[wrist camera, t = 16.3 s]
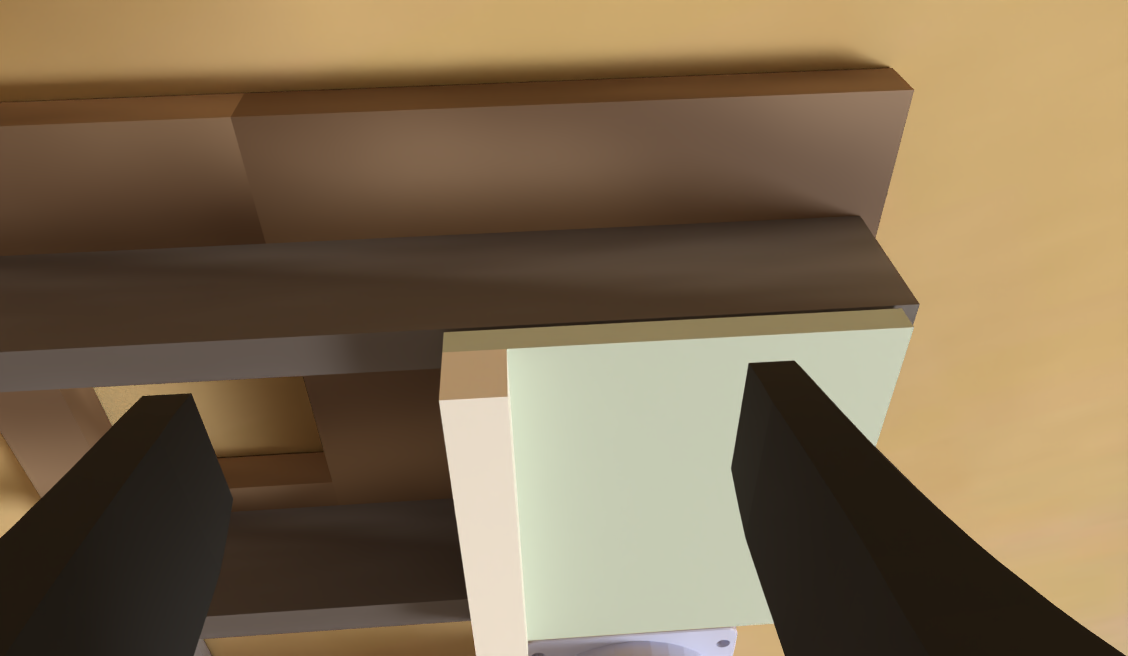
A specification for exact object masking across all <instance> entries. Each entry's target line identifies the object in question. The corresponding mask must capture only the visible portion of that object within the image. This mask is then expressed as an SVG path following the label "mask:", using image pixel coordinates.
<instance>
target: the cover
mask: <svg viewBox="0 0 1128 656" xmlns="http://www.w3.org/2000/svg"><path fill="white" fill-rule="evenodd" d="M913 329H914V326H913V325H912V323H911V322H910V320H909V319H908V317H907V316H906V314H905V312H904V311H903V309H902V308H899V309H880V310H861V311H842V312H823V313H803V314H784V315H765V316H746V317H727V318H708V319H689V320H669V321H650V322H631V323H612V324H593V325H574V326H555V327H535V328H516V329H497V330H478V331H459V332H444V336H443V350H442V364H441V378H440V392H439V405H440V411H441V418H442V425H443V432H444V439H445V446H446V453H447V459H448V466H449V473H450V480H451V487H452V494H453V501H454V507H455V514H456V521H457V528H458V535H459V542H460V548H461V555H462V562H463V569H464V576H465V583H466V590H467V596H468V603H469V610H470V617H471V624H472V631H473V638H474V644H475V651H476V656H528V641H530V640H545V639H559V638H573V637H588V636H602V635H617V634H631V633H645V632H660V631H674V630H688V629H703V628H717V627H732V626H746V625H760V624H774V622H773V619H772V616H771V613H770V610H769V607H768V605H767V602H766V599H765V596H764V593H763V590H762V587H761V584H760V581H759V578H758V575H757V572H756V569H755V566H754V563H753V560H752V557H751V554H750V551H749V548H748V545H747V542H746V539H745V534H744V530H743V525H742V521H741V516H740V512H739V507H738V502H737V497H736V492H735V487H734V482H733V477H732V472H731V465H732V459H733V453H734V447H735V441H736V435H737V429H738V423H739V417H740V411H741V405H742V399H743V393H744V387H745V381H746V375H747V369H748V363H755V362H774V361H792V360H794V361H795V362H796V363H797V364H798V365H800V366H801V368H802V369H803V370H804V371H805V372H806V373H807V374H808V375H809V376H810V377H811V378H812V379H813V380H814V382H815V383H816V384H817V385H818V386H819V387H820V388H821V389H822V390H823V391H824V392H825V394H826V395H827V396H828V397H829V398H830V399H831V400H832V401H833V402H834V403H835V404H836V406H837V407H838V408H839V409H840V410H841V411H842V412H843V413H844V414H845V415H846V416H847V417H848V418H849V420H850V421H851V422H852V423H853V424H854V425H855V426H856V427H857V428H858V429H859V430H860V431H861V432H862V433H863V434H864V435H865V436H866V438H867V439H868V440H869V441H870V442H871V443H872V444H873V445H874V446H875V447H876V444H877V441H878V438H879V435H880V432H881V429H882V425H883V422H884V419H885V416H886V413H887V410H888V407H889V404H890V400H891V397H892V394H893V391H894V388H895V385H896V382H897V379H898V376H899V372H900V369H901V366H902V363H903V360H904V357H905V354H906V351H907V347H908V344H909V341H910V338H911V335H912V332H913Z"/></svg>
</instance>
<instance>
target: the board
mask: <svg viewBox="0 0 1128 656" xmlns="http://www.w3.org/2000/svg"><path fill="white" fill-rule="evenodd" d="M913 92H914V89H913V88H912V87H911V86H910V85H909V84H908V83H907V82H906V81H905V80H904V79H903V78H902V77H901V76H900V75H899V74H898V73H897V72H896V71H895V70H894V69H893V68H881V69H855V70H829V71H803V72H777V73H751V74H725V75H700V76H674V77H648V78H622V79H596V80H570V81H544V82H518V83H493V84H467V85H441V86H415V87H389V88H363V89H337V90H311V91H286V92H260V93H234V94H208V95H182V96H156V97H130V98H105V99H79V100H53V101H27V102H1V103H0V432H1V434H2V435H3V437H4V439H5V440H6V442H7V444H8V445H9V447H10V448H11V450H12V452H13V453H14V455H15V456H16V458H17V460H18V461H19V463H20V465H21V466H22V468H23V469H24V471H25V473H26V474H27V476H28V477H29V479H30V481H31V482H32V484H33V486H34V487H35V489H36V490H37V492H38V494H39V495H40V497H41V498H42V497H43V496H44V495H45V494H46V493H47V492H48V491H49V490H50V489H51V488H52V487H53V486H54V485H55V484H56V483H57V482H58V481H59V480H60V479H61V478H62V477H63V476H64V475H65V474H66V473H67V472H68V471H69V470H70V469H71V468H72V467H73V466H74V465H75V464H76V463H77V462H78V461H79V460H80V459H81V458H82V457H83V456H84V455H85V454H86V453H87V452H88V451H89V450H90V449H91V448H92V447H93V446H94V445H95V443H96V442H97V441H98V440H99V439H100V438H101V437H102V436H103V435H104V434H105V433H106V432H107V431H108V430H109V429H110V428H111V427H112V425H111V423H110V421H109V419H108V417H107V415H106V413H105V411H104V409H103V407H102V405H101V403H100V401H99V399H98V397H97V395H96V393H95V391H94V389H93V387H107V386H125V385H144V384H162V383H180V382H199V381H217V380H236V379H254V378H273V377H291V376H303V378H304V382H305V385H306V389H307V393H308V396H309V400H310V403H311V407H312V411H313V414H314V418H315V421H316V425H317V428H318V432H319V436H320V439H321V443H322V446H323V450H324V452H315V453H298V454H281V455H264V456H247V457H230V458H217V459H218V462H219V464H220V467H221V469H222V472H223V474H224V477H225V479H226V482H227V484H228V487H229V489H230V492H231V494H232V497H233V503H232V510H231V516H230V522H229V528H228V534H227V540H226V545H225V550H224V555H223V560H222V565H221V570H220V574H219V577H218V581H217V584H216V587H215V591H214V594H213V597H212V600H211V603H210V607H209V610H208V613H207V616H206V619H205V622H204V626H203V629H202V632H201V635H200V638H199V639H210V638H224V637H239V636H254V635H268V634H283V633H298V632H312V631H327V630H342V629H356V628H371V627H385V626H400V625H415V624H429V623H444V622H459V621H471V617H470V610H469V603H468V596H467V590H466V583H465V576H464V569H463V562H462V555H461V548H460V542H459V535H458V528H457V521H456V514H455V507H454V501H453V494H452V487H451V480H450V473H449V466H448V459H447V453H446V446H445V439H444V432H443V425H442V418H441V411H440V405H439V392H440V378H441V364H442V350H443V336H444V332H459V331H478V330H497V329H516V328H535V327H555V326H574V325H593V324H612V323H631V322H650V321H669V320H689V319H708V318H727V317H746V316H765V315H784V314H803V313H823V312H842V311H861V310H880V309H899V308H902V309H903V311H904V312H905V314H906V316H907V317H908V319H909V320H910V322H911V323H912V325H913V323H914V320H915V317H916V314H917V311H918V308H919V305H920V304H919V303H918V301H917V300H916V298H915V297H914V295H913V294H912V292H911V291H910V289H909V288H908V286H907V285H906V283H905V282H904V280H903V279H902V277H901V276H900V274H899V273H898V271H897V270H896V268H895V267H894V265H893V264H892V262H891V261H890V259H889V258H888V256H887V255H886V253H885V252H884V250H883V249H882V248H881V246H880V245H879V243H878V242H877V240H876V239H875V238H876V234H877V230H878V226H879V222H880V218H881V215H882V211H883V207H884V203H885V199H886V196H887V192H888V188H889V184H890V180H891V176H892V173H893V169H894V165H895V161H896V157H897V153H898V150H899V146H900V142H901V138H902V134H903V130H904V127H905V123H906V119H907V115H908V111H909V107H910V104H911V100H912V96H913Z"/></svg>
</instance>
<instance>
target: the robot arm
mask: <svg viewBox="0 0 1128 656" xmlns="http://www.w3.org/2000/svg"><path fill="white" fill-rule="evenodd" d="M731 472H732V477H733V482H734V487H735V492H736V497H737V502H738V507H739V512H740V516H741V521H742V525H743V530H744V534H745V539H746V542H747V545H748V548H749V551H750V554H751V557H752V560H753V563H754V566H755V569H756V572H757V575H758V578H759V581H760V584H761V587H762V590H763V593H764V596H765V599H766V602H767V605H768V607H769V610H770V613H771V616H772V619H773V622H774V625H775V628H776V631H777V634H778V637H779V640H780V643H781V645H782V648H783V651H784V654H785V656H1126V655H1124V654H1123V653H1121V652H1120V651H1118V650H1117V649H1115V648H1114V647H1112V646H1111V645H1110V644H1108V643H1107V642H1105V641H1104V640H1102V639H1101V638H1099V637H1098V636H1097V635H1095V634H1094V633H1092V632H1091V631H1089V630H1088V629H1086V628H1085V627H1084V626H1082V625H1081V624H1080V623H1078V622H1077V621H1075V620H1074V619H1073V618H1071V617H1070V616H1069V615H1067V614H1066V613H1064V612H1063V611H1062V610H1060V609H1059V608H1058V607H1056V606H1055V605H1054V604H1052V603H1051V602H1050V601H1048V600H1047V599H1046V598H1045V597H1043V596H1042V595H1041V594H1040V593H1038V592H1037V591H1036V590H1034V589H1033V588H1032V587H1031V586H1029V585H1028V584H1027V583H1026V582H1024V581H1023V580H1022V579H1020V578H1019V577H1018V576H1017V575H1015V574H1014V573H1013V572H1012V571H1010V570H1009V569H1008V568H1006V567H1005V566H1004V565H1003V564H1001V563H1000V562H999V561H998V560H996V559H995V558H994V557H993V556H992V555H991V554H989V553H988V552H987V551H986V550H985V549H983V548H982V547H981V546H980V545H979V544H978V543H976V542H975V541H974V540H973V539H972V538H971V537H969V536H968V535H967V534H966V533H965V532H964V531H963V530H962V529H961V528H959V527H958V526H957V525H956V524H955V523H954V522H953V521H952V520H951V519H949V518H948V517H947V516H946V515H945V514H944V513H943V512H942V511H941V510H940V509H938V508H937V507H936V506H935V505H934V504H933V503H932V502H931V501H930V500H929V499H928V498H927V497H926V496H925V495H924V494H923V493H921V492H920V491H919V490H918V489H917V488H916V487H915V486H914V485H913V484H912V483H911V482H910V481H909V480H908V479H907V478H906V477H905V476H904V475H903V474H902V473H901V472H900V471H899V470H898V469H897V468H896V467H895V466H894V465H893V464H892V463H891V462H890V461H889V460H888V459H887V458H886V457H885V456H884V455H883V454H882V453H881V452H880V451H879V450H878V449H877V448H876V447H875V446H874V445H873V444H872V443H871V442H870V441H869V440H868V439H867V438H866V436H865V435H864V434H863V433H862V432H861V431H860V430H859V429H858V428H857V427H856V426H855V425H854V424H853V423H852V422H851V421H850V420H849V418H848V417H847V416H846V415H845V414H844V413H843V412H842V411H841V410H840V409H839V408H838V407H837V406H836V404H835V403H834V402H833V401H832V400H831V399H830V398H829V397H828V396H827V395H826V394H825V392H824V391H823V390H822V389H821V388H820V387H819V386H818V385H817V384H816V383H815V382H814V380H813V379H812V378H811V377H810V376H809V375H808V374H807V373H806V372H805V371H804V370H803V369H802V368H801V366H800V365H798V364H797V363H796V362H795V361H794V360H792V361H774V362H755V363H748V369H747V375H746V381H745V387H744V393H743V399H742V405H741V411H740V417H739V423H738V429H737V435H736V441H735V447H734V453H733V459H732V465H731ZM232 503H233V497H232V494H231V492H230V489H229V487H228V484H227V482H226V479H225V477H224V474H223V472H222V469H221V467H220V464H219V462H218V459H217V457H216V454H215V452H214V449H213V447H212V444H211V442H210V439H209V437H208V434H207V432H206V429H205V427H204V424H203V422H202V419H201V417H200V414H199V412H198V409H197V407H196V404H195V402H194V399H193V397H192V394H191V393H190V394H172V395H154V396H142V397H141V398H140V399H139V400H138V401H137V402H136V403H135V404H134V405H133V406H132V407H131V408H130V409H129V410H128V411H127V412H126V413H125V414H124V415H123V416H122V417H121V418H120V419H119V420H118V421H117V422H116V423H115V424H114V425H113V426H112V427H111V428H110V429H109V430H108V431H107V432H106V433H105V434H104V435H103V436H102V437H101V438H100V439H99V440H98V441H97V442H96V443H95V445H94V446H93V447H92V448H91V449H90V450H89V451H88V452H87V453H86V454H85V455H84V456H83V457H82V458H81V459H80V460H79V461H78V462H77V463H76V464H75V465H74V466H73V467H72V468H71V469H70V470H69V471H68V472H67V473H66V474H65V475H64V476H63V477H62V478H61V479H60V480H59V481H58V482H57V483H56V484H55V485H54V486H53V487H52V488H51V489H50V490H49V491H48V492H47V493H46V494H45V495H44V496H43V497H42V498H41V499H40V500H39V501H38V502H37V503H36V504H35V505H34V506H33V507H32V508H31V509H30V510H29V511H28V512H27V513H26V514H25V515H24V516H23V517H22V518H21V519H20V520H19V521H18V522H17V523H16V524H15V525H14V526H13V527H12V528H11V529H10V530H9V531H7V532H6V533H5V534H4V535H3V536H2V537H1V538H0V656H194V653H195V650H196V647H197V644H198V641H199V638H200V635H201V632H202V629H203V626H204V622H205V619H206V616H207V613H208V610H209V607H210V603H211V600H212V597H213V594H214V591H215V587H216V584H217V581H218V577H219V574H220V570H221V565H222V560H223V555H224V550H225V545H226V540H227V534H228V528H229V522H230V516H231V510H232ZM736 638H737V630H736V626H732V627H717V628H703V629H688V630H674V631H660V632H645V633H631V634H617V635H602V636H588V637H573V638H559V639H545V640H530V641H528V656H733V652H734V648H735V643H736Z"/></svg>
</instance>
